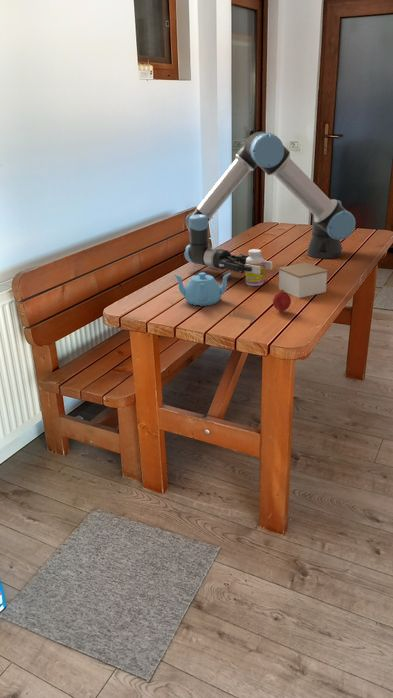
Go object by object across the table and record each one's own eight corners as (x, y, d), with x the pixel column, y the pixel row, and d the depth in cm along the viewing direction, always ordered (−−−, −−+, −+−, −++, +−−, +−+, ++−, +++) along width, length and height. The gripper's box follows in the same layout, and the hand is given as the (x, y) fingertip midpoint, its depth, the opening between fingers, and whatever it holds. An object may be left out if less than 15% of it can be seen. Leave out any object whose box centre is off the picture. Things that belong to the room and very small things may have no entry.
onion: (271, 309, 192) (271, 286, 188) (288, 308, 192) (288, 285, 189) (274, 315, 186) (275, 292, 183) (292, 314, 187) (293, 291, 183)
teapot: (204, 291, 211) (203, 264, 207) (233, 300, 201) (233, 272, 197) (174, 302, 202) (172, 273, 198) (203, 311, 192) (202, 282, 188)
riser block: (305, 283, 216) (306, 262, 213) (326, 291, 206) (327, 270, 202) (278, 288, 211) (278, 267, 208) (298, 298, 201) (299, 276, 197)
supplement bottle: (262, 286, 214) (262, 253, 208) (244, 286, 215) (244, 252, 210) (264, 281, 220) (264, 248, 214) (247, 280, 221) (246, 248, 216)
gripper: (233, 262, 234) (280, 271, 219) (201, 273, 221) (249, 284, 206) (233, 243, 230) (281, 252, 216) (201, 254, 217) (249, 264, 203)
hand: (265, 268), depth 211 cm, fingers closed on supplement bottle, 7 cm apart
